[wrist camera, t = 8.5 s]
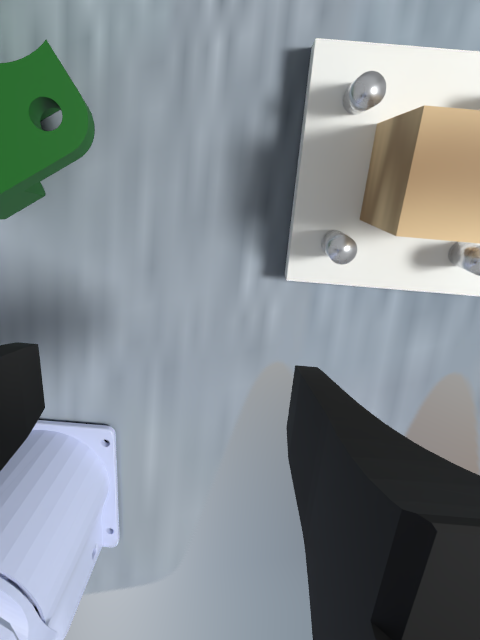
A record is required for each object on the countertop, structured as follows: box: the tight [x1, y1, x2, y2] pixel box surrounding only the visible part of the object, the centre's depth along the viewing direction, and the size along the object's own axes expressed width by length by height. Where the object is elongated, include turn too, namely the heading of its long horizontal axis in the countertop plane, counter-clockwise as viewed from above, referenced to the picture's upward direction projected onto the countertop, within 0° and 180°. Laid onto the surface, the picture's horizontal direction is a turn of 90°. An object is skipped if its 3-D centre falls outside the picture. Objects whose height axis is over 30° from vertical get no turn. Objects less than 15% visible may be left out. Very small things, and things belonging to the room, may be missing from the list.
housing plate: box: [285, 38, 480, 296], centre depth 17 cm, size 10×10×3 cm
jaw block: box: [360, 105, 480, 244], centre depth 15 cm, size 4×4×5 cm
